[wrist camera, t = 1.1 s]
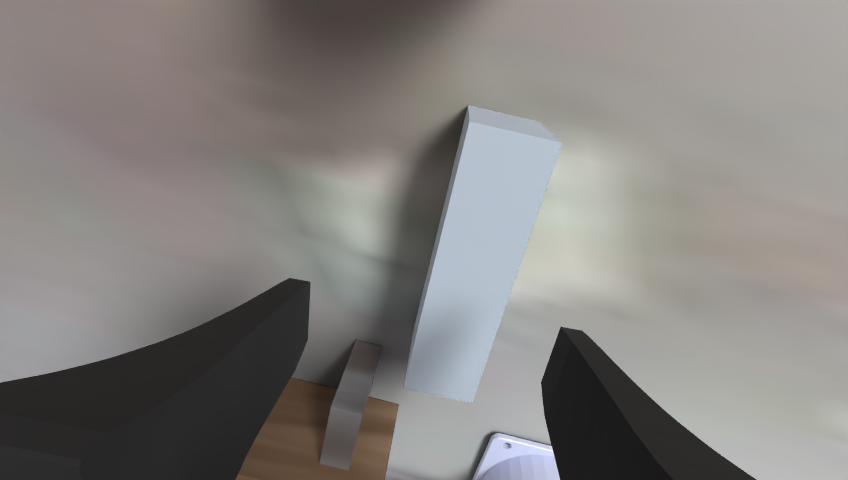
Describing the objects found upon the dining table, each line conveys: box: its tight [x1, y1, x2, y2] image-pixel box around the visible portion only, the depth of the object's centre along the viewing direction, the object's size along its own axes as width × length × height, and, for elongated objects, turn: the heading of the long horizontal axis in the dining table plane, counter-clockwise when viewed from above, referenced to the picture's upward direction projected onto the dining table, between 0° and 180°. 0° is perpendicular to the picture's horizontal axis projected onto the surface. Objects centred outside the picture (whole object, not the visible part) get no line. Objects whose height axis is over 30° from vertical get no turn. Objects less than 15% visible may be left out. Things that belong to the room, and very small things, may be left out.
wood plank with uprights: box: [236, 340, 399, 480], centre depth 22 cm, size 6×12×6 cm, turn 76°
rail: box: [403, 105, 562, 403], centre depth 19 cm, size 3×12×5 cm, turn 168°
